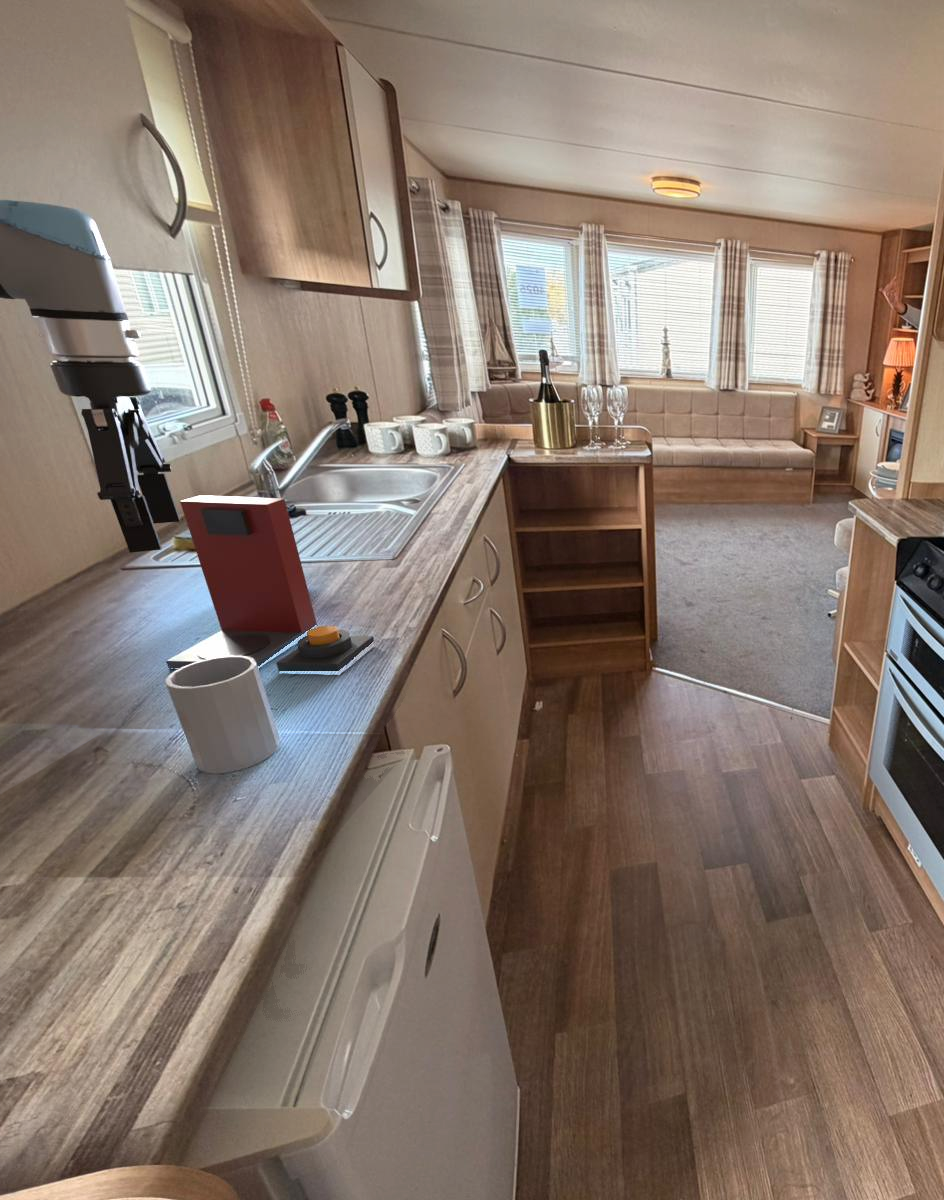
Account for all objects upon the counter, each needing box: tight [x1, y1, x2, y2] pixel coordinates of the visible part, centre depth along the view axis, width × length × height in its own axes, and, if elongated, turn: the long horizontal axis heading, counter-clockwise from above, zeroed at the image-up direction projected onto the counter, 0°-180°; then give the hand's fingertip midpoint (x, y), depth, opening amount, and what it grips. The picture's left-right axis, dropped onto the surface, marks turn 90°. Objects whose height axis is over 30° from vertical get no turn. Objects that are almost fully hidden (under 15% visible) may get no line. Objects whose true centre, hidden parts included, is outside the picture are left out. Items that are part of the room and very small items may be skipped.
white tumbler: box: [164, 655, 281, 775], centre depth 79 cm, size 8×8×12 cm
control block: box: [275, 629, 375, 672], centre depth 103 cm, size 10×9×4 cm
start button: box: [307, 625, 340, 645], centre depth 102 cm, size 4×4×2 cm
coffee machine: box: [165, 494, 318, 669], centre depth 101 cm, size 15×13×24 cm
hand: (157, 535), depth 82 cm, fingers open, 13 cm apart
